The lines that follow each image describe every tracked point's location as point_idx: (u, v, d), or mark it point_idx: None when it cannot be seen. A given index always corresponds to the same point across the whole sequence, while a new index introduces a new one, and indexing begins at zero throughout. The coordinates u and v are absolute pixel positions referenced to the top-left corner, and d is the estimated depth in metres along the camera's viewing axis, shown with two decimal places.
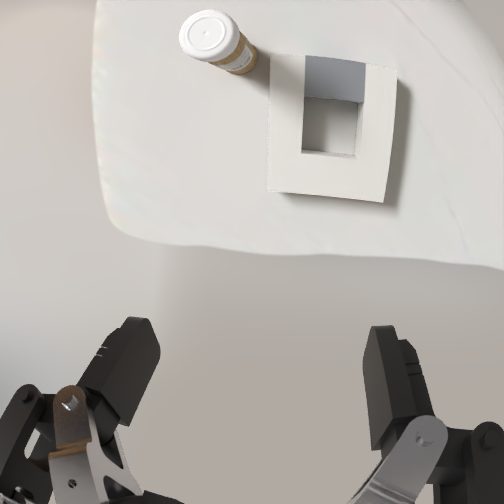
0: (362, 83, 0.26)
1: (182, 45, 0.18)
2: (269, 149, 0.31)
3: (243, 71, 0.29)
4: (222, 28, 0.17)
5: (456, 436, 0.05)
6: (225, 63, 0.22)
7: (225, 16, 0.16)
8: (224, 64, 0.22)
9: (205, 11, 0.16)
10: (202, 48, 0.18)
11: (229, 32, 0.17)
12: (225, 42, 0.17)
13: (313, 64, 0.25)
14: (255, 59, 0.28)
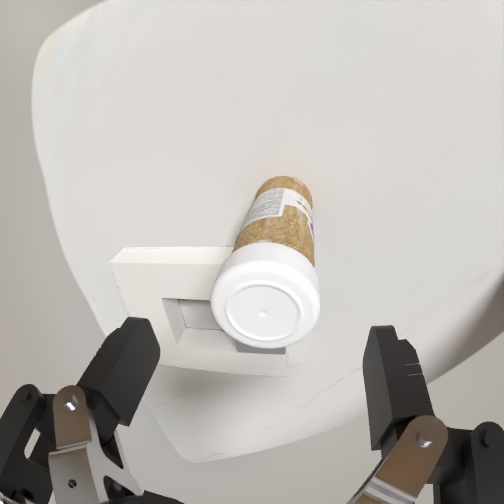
0: (260, 351, 0.27)
1: (236, 272, 0.11)
2: (153, 265, 0.24)
3: None
4: (271, 337, 0.12)
5: (456, 436, 0.05)
6: None
7: (297, 339, 0.12)
8: None
9: (315, 310, 0.11)
10: (229, 308, 0.12)
11: (263, 345, 0.12)
12: (244, 339, 0.12)
13: None
14: None
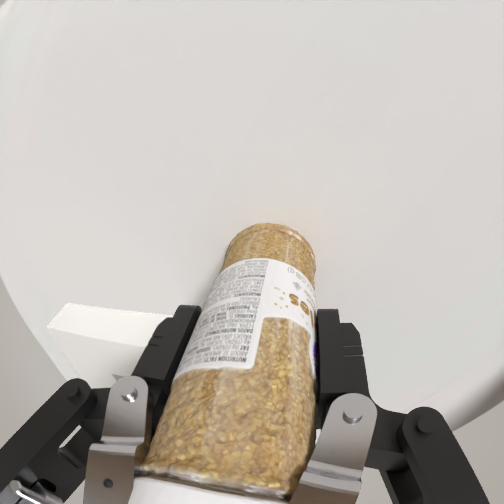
0: None
1: None
2: (93, 340, 0.16)
3: None
4: None
5: (391, 419, 0.06)
6: None
7: None
8: None
9: None
10: None
11: None
12: None
13: None
14: None
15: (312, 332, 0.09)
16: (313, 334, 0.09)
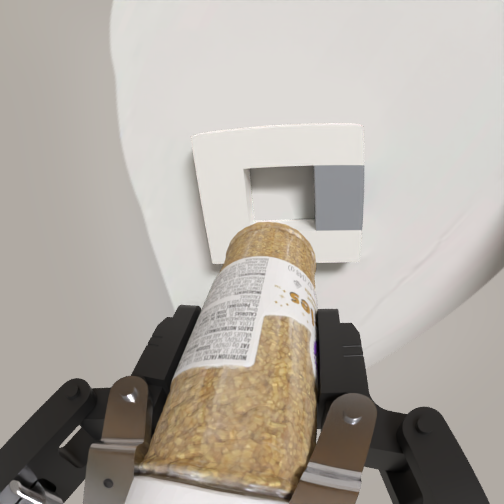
0: (338, 227, 0.28)
1: None
2: (241, 132, 0.25)
3: None
4: None
5: (391, 419, 0.06)
6: None
7: None
8: None
9: None
10: None
11: None
12: None
13: (354, 174, 0.25)
14: None
15: (313, 330, 0.09)
16: (314, 332, 0.09)
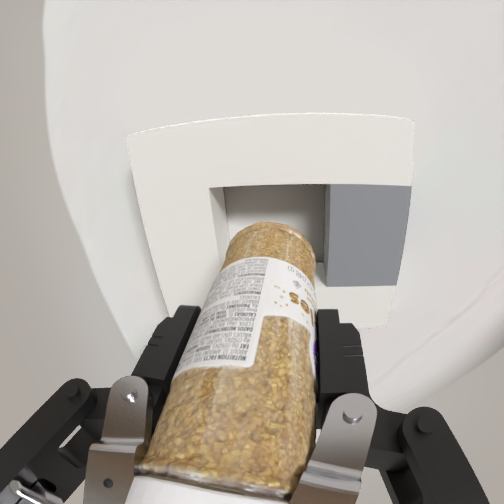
0: (361, 282, 0.17)
1: None
2: (204, 125, 0.14)
3: None
4: None
5: (391, 419, 0.06)
6: None
7: None
8: None
9: None
10: None
11: None
12: None
13: (394, 200, 0.15)
14: None
15: (312, 331, 0.09)
16: (313, 333, 0.09)
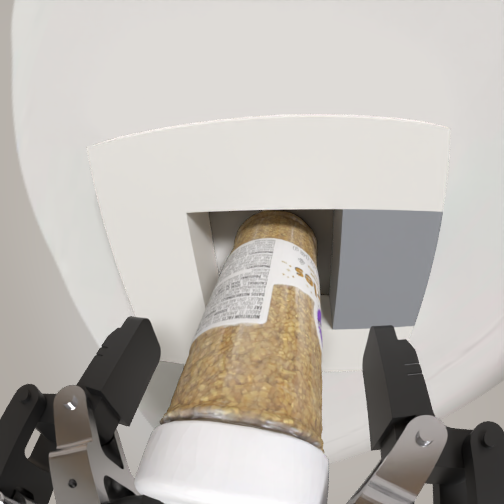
0: (374, 324, 0.14)
1: (164, 493, 0.04)
2: (178, 132, 0.11)
3: None
4: None
5: (455, 436, 0.05)
6: None
7: None
8: None
9: None
10: None
11: None
12: None
13: (421, 229, 0.11)
14: None
15: (316, 300, 0.10)
16: (317, 302, 0.10)
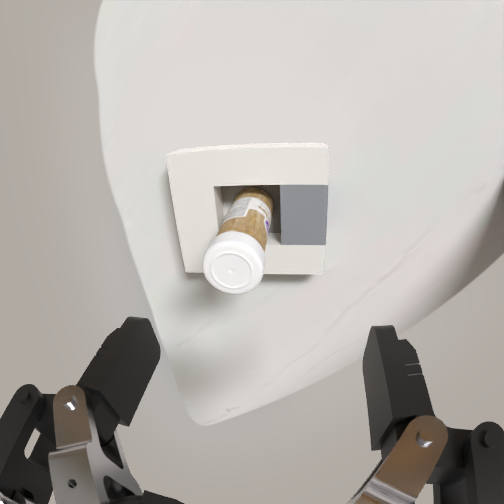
0: (302, 242, 0.30)
1: (216, 247, 0.20)
2: (211, 152, 0.27)
3: None
4: (236, 286, 0.21)
5: (456, 436, 0.05)
6: None
7: (252, 287, 0.21)
8: None
9: (260, 269, 0.20)
10: (212, 268, 0.21)
11: (232, 291, 0.22)
12: (221, 287, 0.22)
13: (318, 193, 0.28)
14: None
15: (266, 217, 0.26)
16: (266, 218, 0.26)
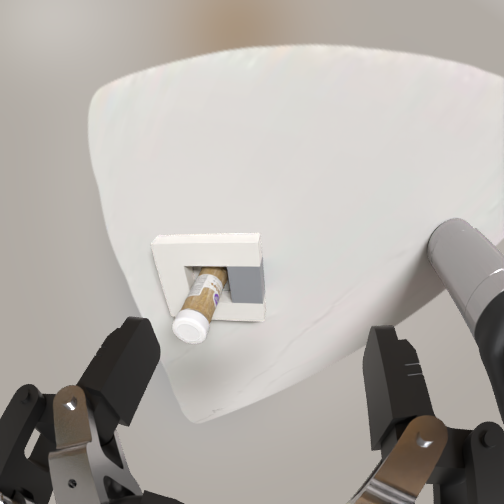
0: (246, 301, 0.44)
1: (178, 320, 0.34)
2: (180, 244, 0.41)
3: None
4: (192, 340, 0.35)
5: (456, 436, 0.05)
6: None
7: (201, 341, 0.35)
8: None
9: (204, 332, 0.34)
10: (177, 330, 0.34)
11: (190, 342, 0.35)
12: (184, 340, 0.35)
13: (253, 271, 0.41)
14: None
15: (215, 291, 0.40)
16: (216, 292, 0.40)
